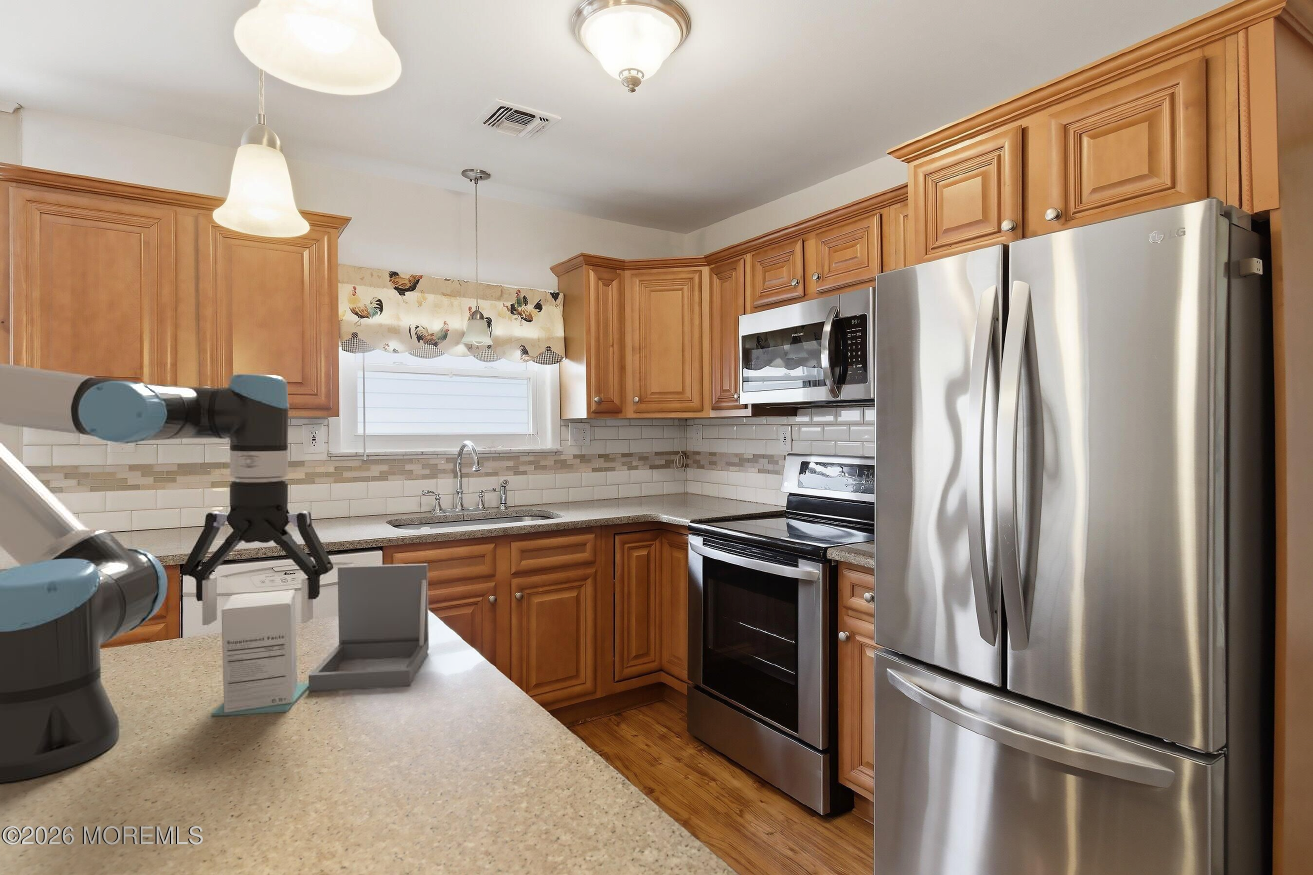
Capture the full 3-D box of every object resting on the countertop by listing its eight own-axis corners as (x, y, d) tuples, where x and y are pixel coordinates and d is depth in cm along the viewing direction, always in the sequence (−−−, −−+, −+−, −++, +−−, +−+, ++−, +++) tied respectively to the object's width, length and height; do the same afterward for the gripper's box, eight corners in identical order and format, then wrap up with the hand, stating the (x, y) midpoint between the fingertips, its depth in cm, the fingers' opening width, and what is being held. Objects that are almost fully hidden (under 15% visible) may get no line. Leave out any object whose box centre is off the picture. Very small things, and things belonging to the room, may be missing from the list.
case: (308, 691, 108) (306, 588, 108) (340, 656, 124) (339, 566, 124) (409, 685, 110) (408, 584, 110) (428, 652, 126) (427, 563, 126)
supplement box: (232, 691, 107) (230, 593, 107) (298, 682, 111) (296, 588, 111) (221, 714, 99) (219, 608, 99) (293, 703, 103) (291, 602, 102)
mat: (211, 715, 100) (211, 713, 100) (243, 688, 109) (243, 686, 109) (286, 711, 101) (286, 708, 101) (311, 685, 111) (311, 682, 111)
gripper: (153, 480, 99) (153, 630, 99) (340, 482, 102) (339, 626, 103) (181, 476, 106) (181, 616, 107) (355, 477, 110) (354, 612, 110)
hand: (258, 621), depth 105 cm, fingers open, 13 cm apart
